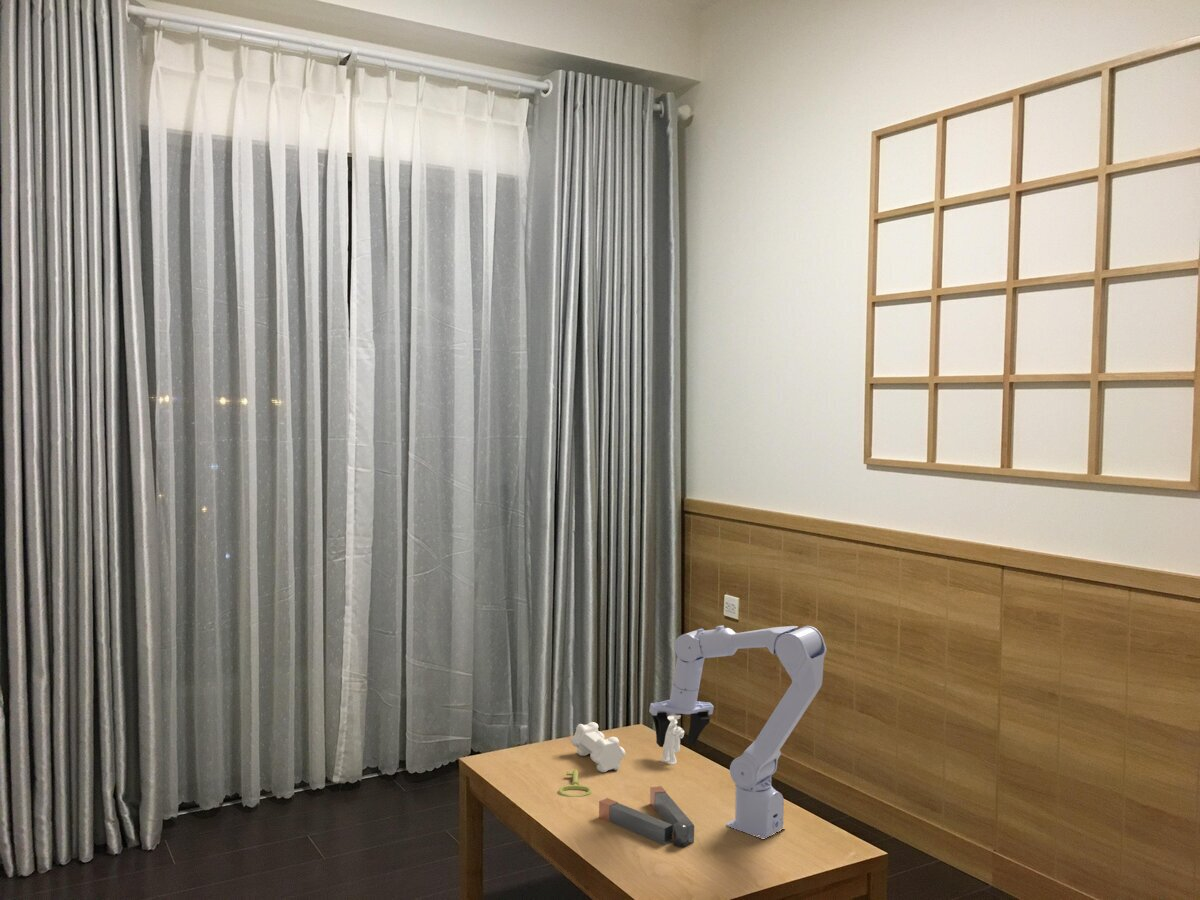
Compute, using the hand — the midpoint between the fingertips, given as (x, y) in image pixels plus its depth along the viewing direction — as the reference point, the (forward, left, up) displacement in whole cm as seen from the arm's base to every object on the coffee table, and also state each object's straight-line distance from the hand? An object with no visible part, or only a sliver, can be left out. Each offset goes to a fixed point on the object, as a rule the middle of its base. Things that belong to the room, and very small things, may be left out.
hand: (675, 744), depth 210 cm
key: (+21, +10, -14) cm, 27 cm away
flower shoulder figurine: (+17, -18, -13) cm, 28 cm away
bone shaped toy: (+29, -5, -13) cm, 32 cm away
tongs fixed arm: (-3, +16, -13) cm, 21 cm away
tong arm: (-6, +10, -13) cm, 17 cm away
